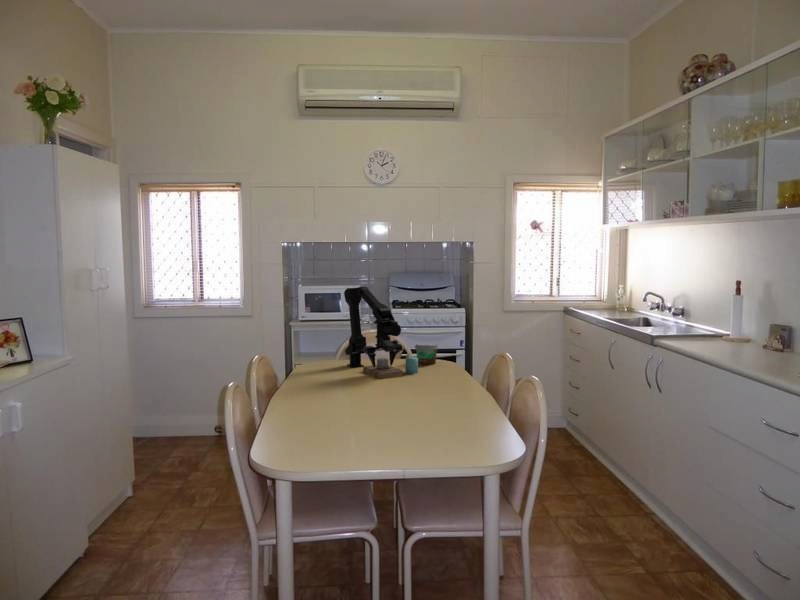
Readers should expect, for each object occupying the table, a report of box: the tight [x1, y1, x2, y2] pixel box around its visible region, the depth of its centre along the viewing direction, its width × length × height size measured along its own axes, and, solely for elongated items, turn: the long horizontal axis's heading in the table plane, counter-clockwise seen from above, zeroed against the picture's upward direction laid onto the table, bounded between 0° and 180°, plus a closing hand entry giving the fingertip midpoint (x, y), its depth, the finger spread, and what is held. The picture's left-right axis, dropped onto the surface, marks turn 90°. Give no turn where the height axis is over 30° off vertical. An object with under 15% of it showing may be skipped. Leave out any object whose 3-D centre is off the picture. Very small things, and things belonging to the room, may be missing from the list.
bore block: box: [362, 364, 404, 380], centre depth 268 cm, size 18×12×2 cm, turn 30°
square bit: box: [376, 357, 389, 370], centre depth 268 cm, size 4×4×7 cm
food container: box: [414, 343, 439, 366], centre depth 289 cm, size 12×6×10 cm, turn 73°
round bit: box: [404, 356, 419, 375], centre depth 270 cm, size 6×6×7 cm
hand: (382, 366), depth 268 cm, fingers open, 9 cm apart
